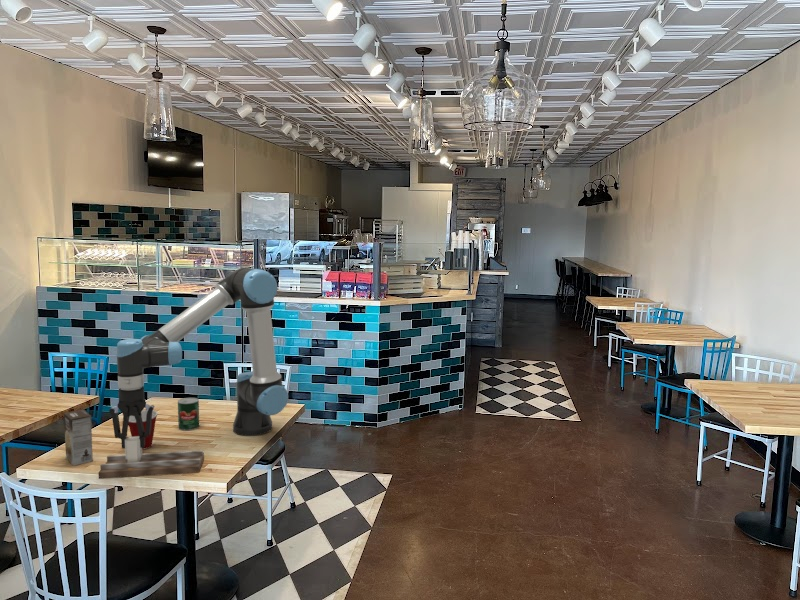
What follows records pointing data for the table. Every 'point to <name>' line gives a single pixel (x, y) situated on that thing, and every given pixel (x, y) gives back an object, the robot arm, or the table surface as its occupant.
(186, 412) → the canned tomato
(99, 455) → the table surface
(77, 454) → the coffee box
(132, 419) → the plastic cup
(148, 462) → the fader track
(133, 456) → the fader tab
